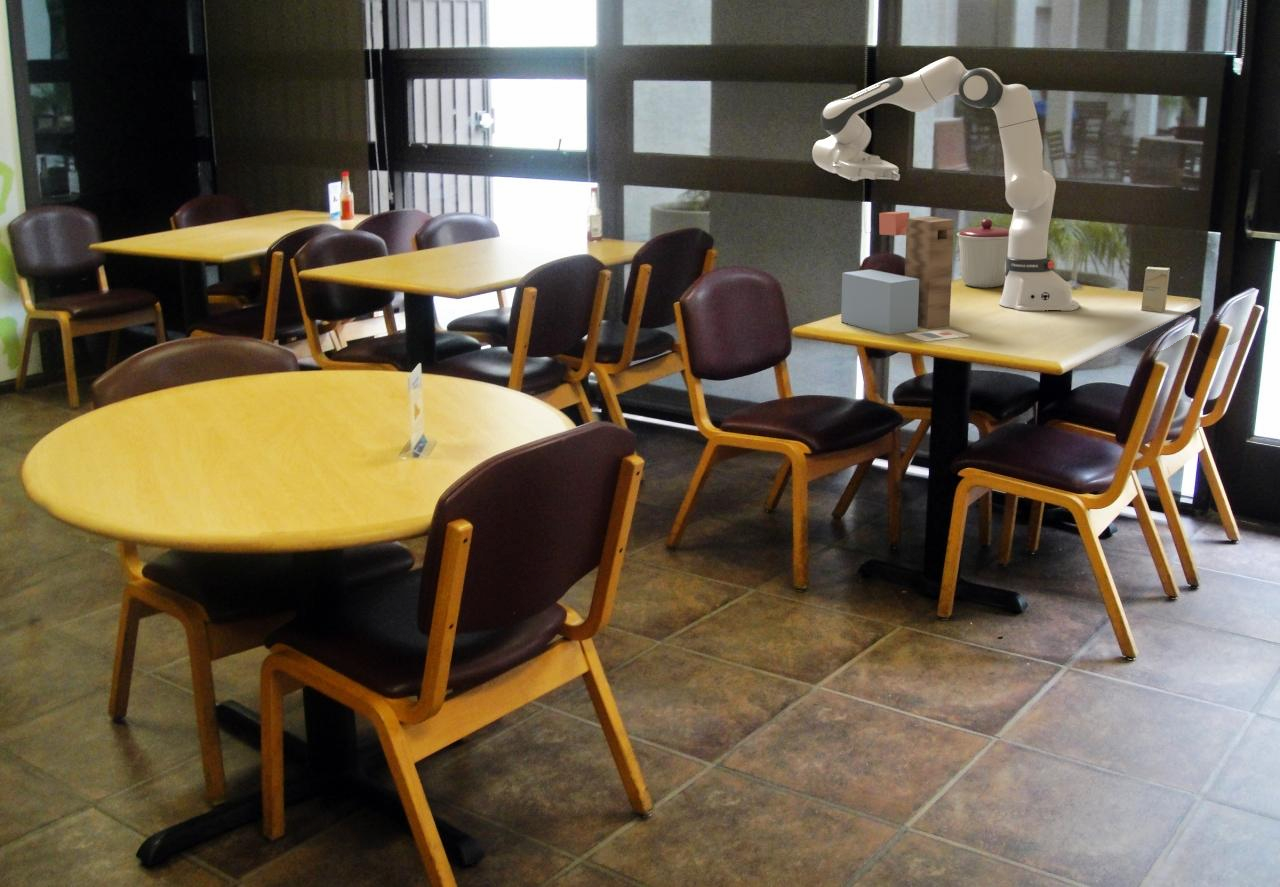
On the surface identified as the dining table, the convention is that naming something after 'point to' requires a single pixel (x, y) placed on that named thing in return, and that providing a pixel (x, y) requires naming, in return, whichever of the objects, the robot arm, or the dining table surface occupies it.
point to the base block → (880, 301)
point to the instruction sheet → (937, 335)
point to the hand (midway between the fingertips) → (886, 177)
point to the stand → (931, 267)
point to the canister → (983, 255)
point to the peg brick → (893, 223)
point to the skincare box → (1155, 289)
